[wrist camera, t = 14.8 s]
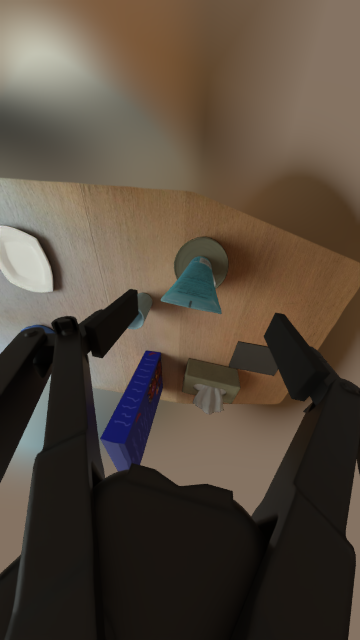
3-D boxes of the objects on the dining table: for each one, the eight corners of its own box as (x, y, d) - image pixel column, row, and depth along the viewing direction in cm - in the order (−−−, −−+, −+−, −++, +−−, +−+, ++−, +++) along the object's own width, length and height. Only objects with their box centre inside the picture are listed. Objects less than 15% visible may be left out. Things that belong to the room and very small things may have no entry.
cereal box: (145, 350, 61) (99, 439, 36) (160, 352, 60) (124, 445, 35) (150, 385, 72) (117, 472, 47) (162, 387, 72) (136, 477, 46)
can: (209, 223, 36) (209, 223, 30) (234, 267, 40) (238, 275, 34) (170, 256, 41) (163, 261, 35) (195, 292, 45) (193, 302, 39)
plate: (63, 295, 54) (59, 297, 52) (13, 284, 55) (6, 286, 53) (46, 232, 43) (39, 232, 42) (-16, 220, 45) (-25, 220, 43)
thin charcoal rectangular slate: (289, 350, 50) (289, 351, 50) (273, 375, 56) (273, 375, 56) (238, 341, 51) (238, 342, 51) (228, 366, 58) (228, 367, 57)
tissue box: (184, 374, 64) (177, 413, 51) (188, 357, 59) (181, 396, 46) (229, 385, 63) (235, 428, 50) (238, 369, 58) (246, 412, 44)
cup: (146, 315, 52) (133, 334, 44) (128, 300, 50) (110, 315, 42) (160, 302, 49) (149, 319, 40) (141, 284, 47) (125, 298, 38)
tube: (183, 276, 36) (160, 318, 20) (184, 254, 34) (160, 282, 18) (215, 280, 36) (218, 327, 19) (219, 258, 33) (227, 290, 17)
